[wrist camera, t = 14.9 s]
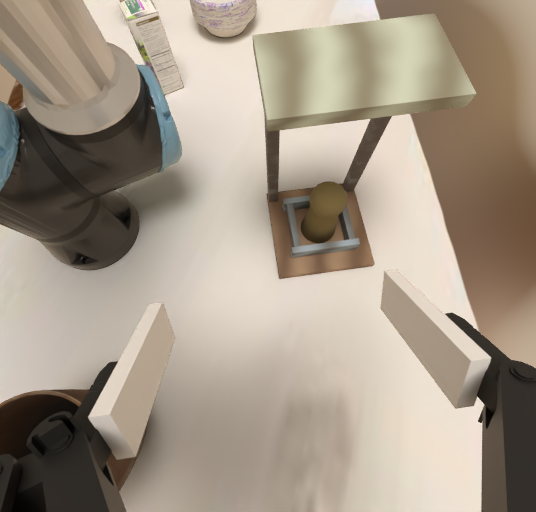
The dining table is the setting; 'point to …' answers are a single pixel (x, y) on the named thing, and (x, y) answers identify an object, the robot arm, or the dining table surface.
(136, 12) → the syrup box
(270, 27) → the dining table surface
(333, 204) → the cork
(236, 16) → the paper bowls
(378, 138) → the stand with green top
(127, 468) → the plant pot
